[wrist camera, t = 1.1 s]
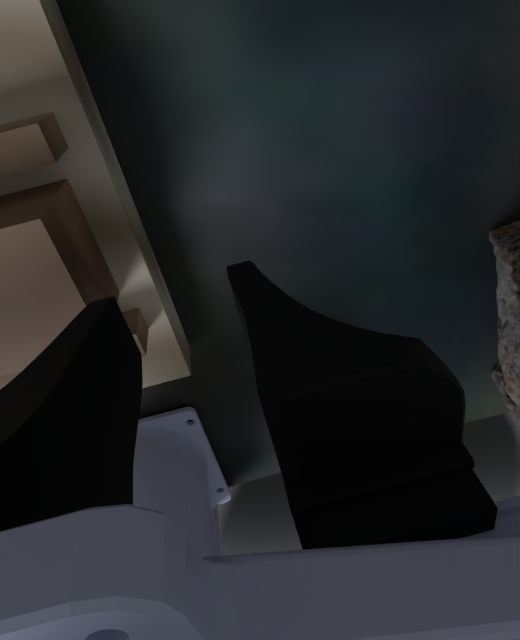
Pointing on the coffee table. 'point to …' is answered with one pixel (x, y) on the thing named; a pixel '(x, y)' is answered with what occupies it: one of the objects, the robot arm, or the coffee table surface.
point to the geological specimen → (508, 313)
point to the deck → (80, 172)
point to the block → (45, 270)
